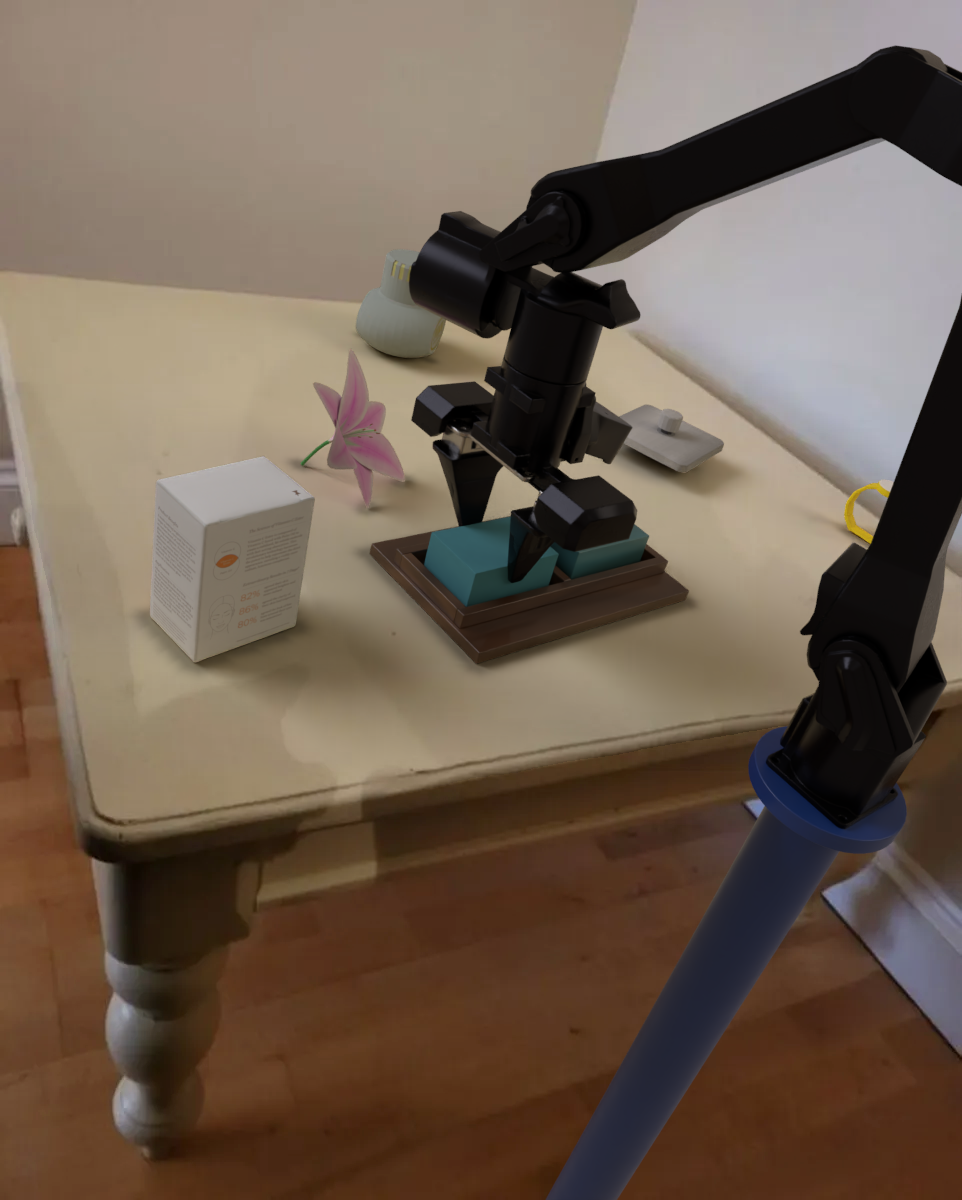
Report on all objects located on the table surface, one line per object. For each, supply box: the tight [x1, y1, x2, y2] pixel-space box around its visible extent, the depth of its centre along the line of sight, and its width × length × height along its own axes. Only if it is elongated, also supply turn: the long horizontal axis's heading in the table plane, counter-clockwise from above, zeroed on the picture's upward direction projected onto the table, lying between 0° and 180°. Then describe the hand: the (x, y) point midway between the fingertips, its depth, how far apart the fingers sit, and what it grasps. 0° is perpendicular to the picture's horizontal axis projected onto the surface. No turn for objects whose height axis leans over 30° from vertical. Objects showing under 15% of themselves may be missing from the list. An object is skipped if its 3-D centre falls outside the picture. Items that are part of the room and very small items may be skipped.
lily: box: [300, 348, 406, 510], centre depth 85 cm, size 12×12×10 cm
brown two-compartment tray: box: [369, 515, 690, 664], centre depth 80 cm, size 14×22×4 cm, turn 127°
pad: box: [424, 515, 559, 607], centre depth 76 cm, size 6×8×3 cm
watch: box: [843, 479, 894, 545], centre depth 99 cm, size 6×3×6 cm, turn 46°
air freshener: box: [355, 248, 447, 359], centre depth 110 cm, size 11×8×10 cm
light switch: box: [618, 403, 725, 473], centre depth 104 cm, size 10×10×5 cm
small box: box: [149, 455, 316, 663], centre depth 65 cm, size 8×6×10 cm
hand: (491, 559), depth 76 cm, fingers closed on pad, 5 cm apart
